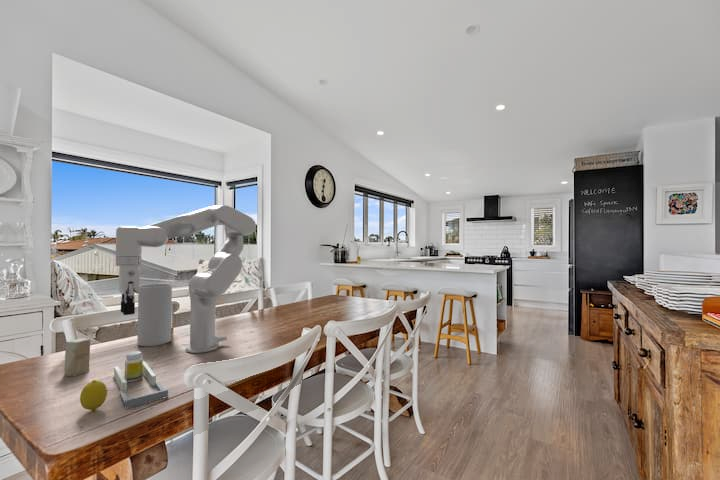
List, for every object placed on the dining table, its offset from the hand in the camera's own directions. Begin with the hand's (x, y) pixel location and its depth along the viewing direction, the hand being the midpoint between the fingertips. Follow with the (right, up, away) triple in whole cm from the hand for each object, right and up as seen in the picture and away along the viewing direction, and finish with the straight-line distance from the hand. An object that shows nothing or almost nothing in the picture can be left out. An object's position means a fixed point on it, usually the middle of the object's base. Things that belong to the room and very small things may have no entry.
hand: (127, 312), depth 118 cm
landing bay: (+19, -19, -21) cm, 34 cm away
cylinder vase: (-8, -20, +29) cm, 36 cm away
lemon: (+12, -19, -30) cm, 38 cm away
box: (-13, -19, -5) cm, 24 cm away
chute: (+10, -19, -11) cm, 24 cm away
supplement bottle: (+9, -20, -10) cm, 23 cm away
